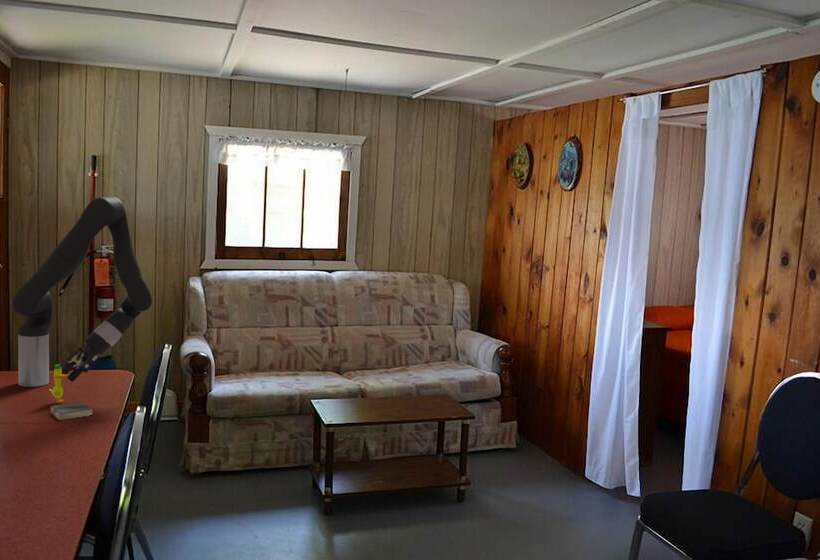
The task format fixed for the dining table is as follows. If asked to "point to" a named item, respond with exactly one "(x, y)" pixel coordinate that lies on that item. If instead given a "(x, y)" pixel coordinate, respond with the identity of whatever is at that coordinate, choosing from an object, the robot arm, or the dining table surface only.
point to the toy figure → (58, 383)
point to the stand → (71, 411)
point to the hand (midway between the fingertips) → (65, 377)
